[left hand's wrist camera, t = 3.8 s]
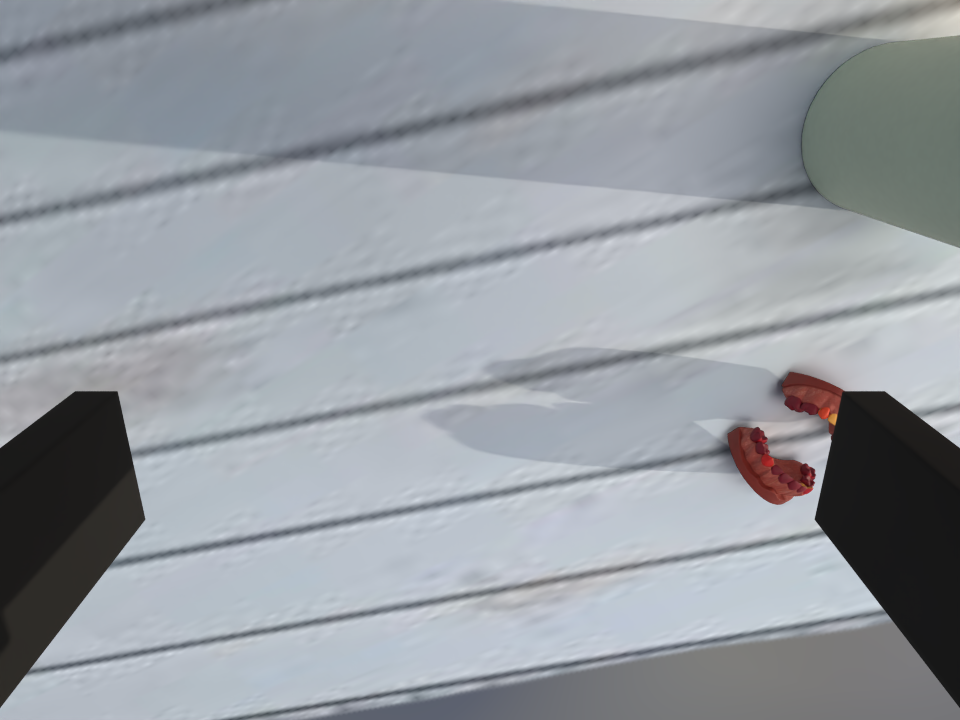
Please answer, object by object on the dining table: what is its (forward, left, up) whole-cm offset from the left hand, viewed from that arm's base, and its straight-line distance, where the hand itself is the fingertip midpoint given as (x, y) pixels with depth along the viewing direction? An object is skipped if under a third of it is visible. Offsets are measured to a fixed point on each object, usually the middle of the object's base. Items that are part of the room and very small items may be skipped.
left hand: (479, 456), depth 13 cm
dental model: (+14, +20, -28) cm, 37 cm away
